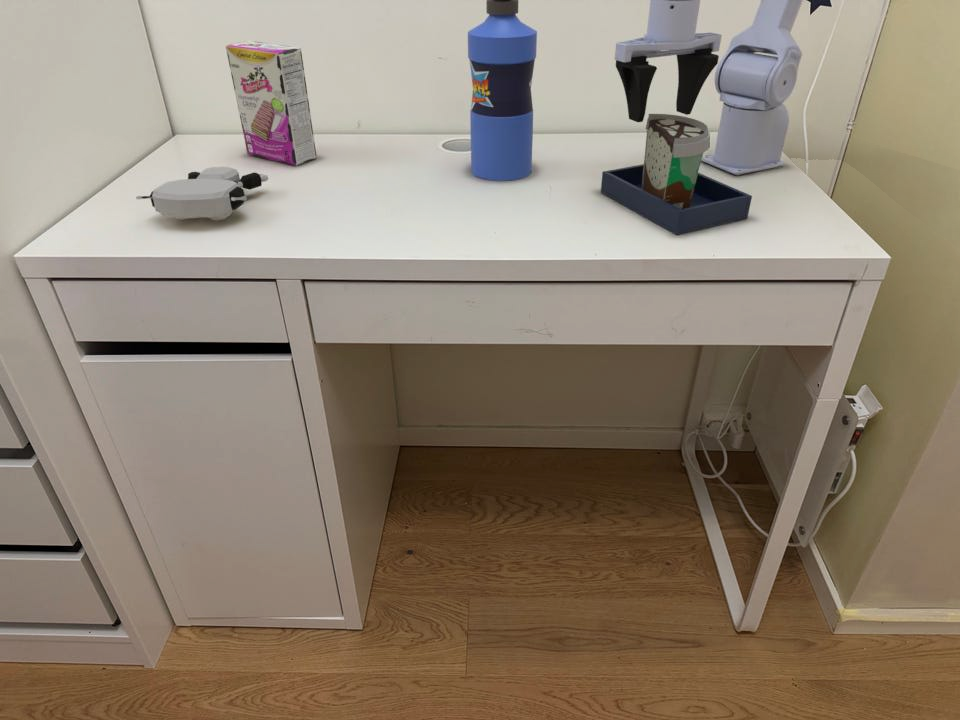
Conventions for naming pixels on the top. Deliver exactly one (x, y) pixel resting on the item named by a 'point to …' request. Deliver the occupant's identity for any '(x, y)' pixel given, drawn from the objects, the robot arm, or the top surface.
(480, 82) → the water bottle
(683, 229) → the rectangular tray
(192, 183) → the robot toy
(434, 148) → the top surface
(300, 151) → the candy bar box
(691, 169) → the food container
